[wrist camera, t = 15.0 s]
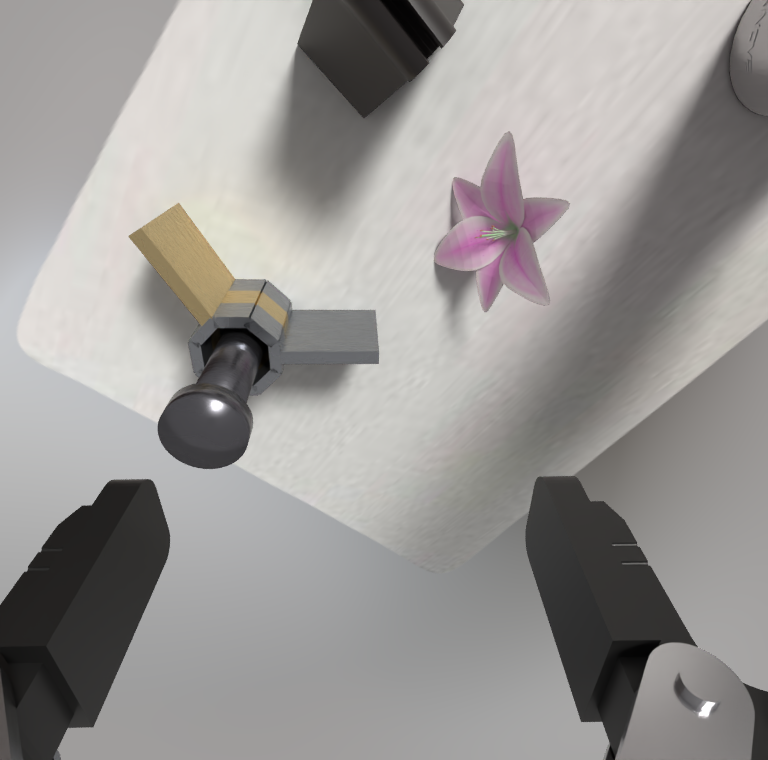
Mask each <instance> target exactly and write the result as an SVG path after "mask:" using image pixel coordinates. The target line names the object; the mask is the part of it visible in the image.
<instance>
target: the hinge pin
mask: <svg viewBox="0 0 768 760" xmlns="http://www.w3.org/2000/svg"><path fill="white" fill-rule="evenodd" d="M265 347H266V344H265V343H264V342H263V341H262V340H260V339H259V338H258V337H257V336H255V335H254V334H253V333H252V332H251V331H249V330H248V329H247V328H225V330H224V332H223V334H222V336H221V338H220V339H219V341H218V343H217V345H216V347H215V349H214V351H213V353H212V354H211V356H210V358H209V360H208V362H207V364H206V366H205V368H204V370H203V371H202V373H201V375H200V377H199V379H198V381H197V383H196V384H192V385H189V386H186V387H184V388H182V389H181V390H179V391H178V392H176V393H175V394H174V395H173V397H172V398H171V400H170V401H169V403H168V405H167V406H166V408H165V410H164V411H163V413H162V415H161V417H160V419H159V422H158V435H159V438H160V441H161V443H162V444H163V446H164V448H165V449H166V450H167V451H168V452H169V453H170V454H171V455H172V456H173V457H175V458H176V459H177V460H179V461H181V462H183V463H185V464H187V465H190V466H193V467H197V468H203V469H215V468H222V467H225V466H228V465H230V464H232V463H234V462H236V461H237V460H238V459H239V458H240V457H241V456H242V455H243V454H244V452H245V450H246V448H247V445H248V442H249V438H250V435H251V432H252V428H253V417H252V413H251V411H250V409H249V407H248V405H247V404H246V403H247V400H248V397H249V394H250V391H251V388H252V385H253V382H254V379H255V376H256V373H257V370H258V368H259V365H260V362H261V359H262V356H263V353H264V350H265Z"/></svg>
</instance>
